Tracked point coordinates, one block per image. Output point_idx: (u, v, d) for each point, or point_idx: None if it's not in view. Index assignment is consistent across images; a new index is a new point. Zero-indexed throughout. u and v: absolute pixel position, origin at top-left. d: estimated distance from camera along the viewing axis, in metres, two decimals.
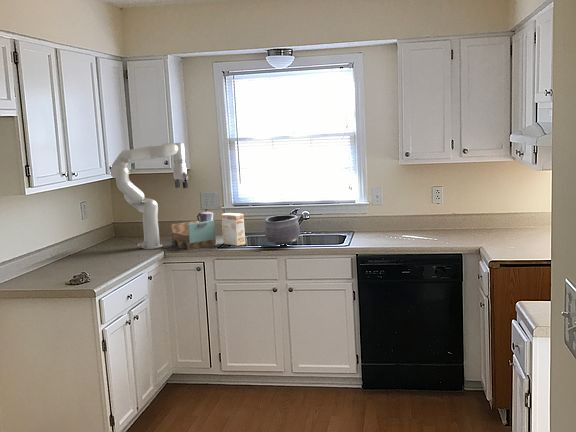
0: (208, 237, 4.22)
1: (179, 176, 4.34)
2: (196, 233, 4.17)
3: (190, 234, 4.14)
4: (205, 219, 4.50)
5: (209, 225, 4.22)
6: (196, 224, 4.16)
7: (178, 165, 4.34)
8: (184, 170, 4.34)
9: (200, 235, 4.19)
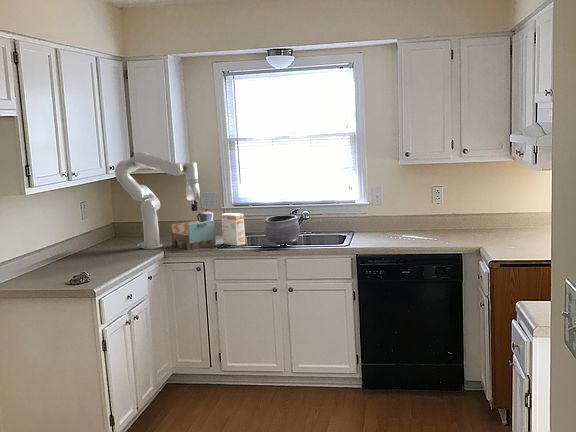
0: (208, 237, 4.22)
1: (192, 197, 4.19)
2: (196, 233, 4.17)
3: (190, 234, 4.14)
4: (205, 219, 4.50)
5: (209, 225, 4.22)
6: (196, 224, 4.16)
7: (190, 186, 4.19)
8: (197, 191, 4.19)
9: (200, 235, 4.19)
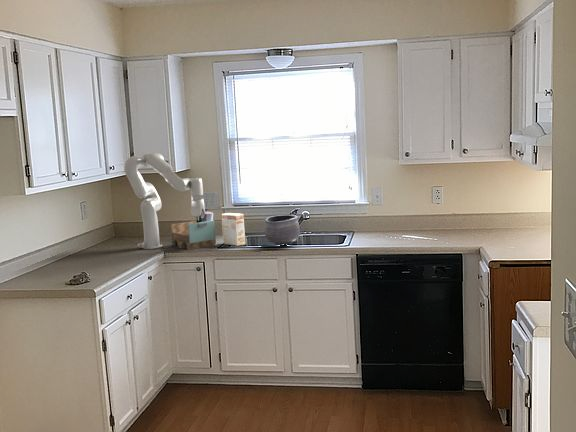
0: (208, 237, 4.22)
1: (197, 213, 4.16)
2: (196, 233, 4.17)
3: (190, 234, 4.14)
4: (205, 219, 4.50)
5: (209, 225, 4.22)
6: (196, 224, 4.16)
7: (196, 202, 4.16)
8: (202, 207, 4.16)
9: (200, 235, 4.18)
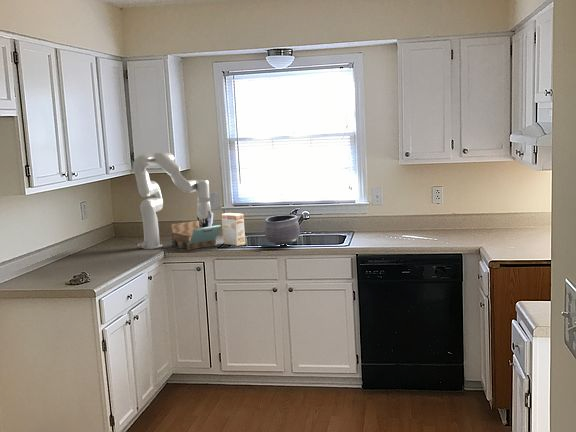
0: (209, 238, 4.21)
1: (203, 215, 4.10)
2: (199, 236, 4.14)
3: (193, 237, 4.12)
4: None
5: (214, 230, 4.18)
6: (202, 230, 4.11)
7: (202, 204, 4.10)
8: (208, 209, 4.10)
9: (202, 237, 4.17)
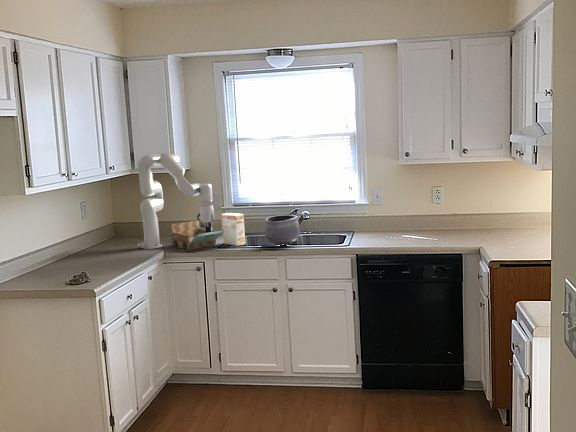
0: (209, 239, 4.21)
1: (206, 219, 4.08)
2: (200, 239, 4.13)
3: (194, 240, 4.11)
4: None
5: (216, 234, 4.17)
6: (205, 235, 4.10)
7: (205, 208, 4.08)
8: (211, 213, 4.08)
9: (203, 239, 4.16)
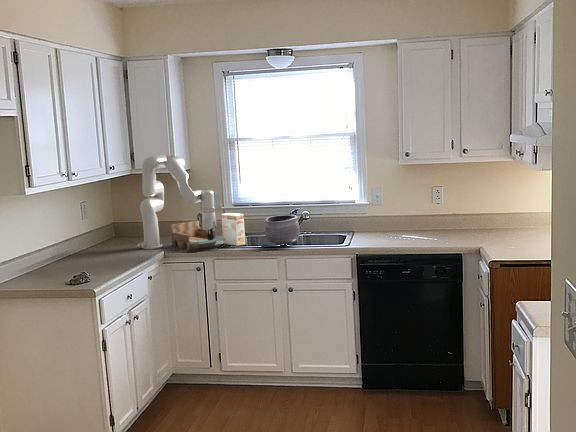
0: None
1: (208, 226, 4.07)
2: None
3: None
4: None
5: None
6: (206, 242, 4.09)
7: (207, 215, 4.07)
8: (213, 220, 4.07)
9: None
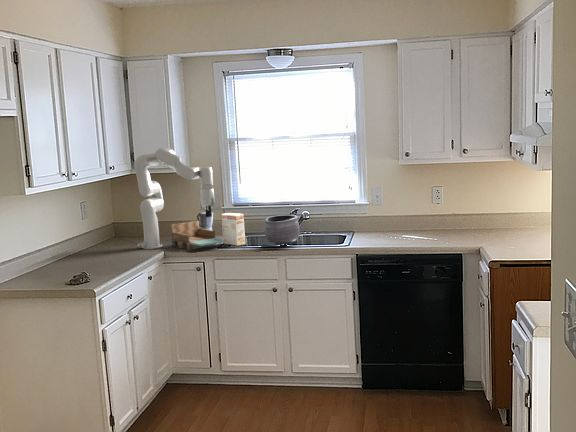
0: None
1: (206, 203, 4.05)
2: None
3: (195, 244, 4.11)
4: (205, 219, 4.50)
5: None
6: (206, 244, 4.10)
7: (205, 191, 4.05)
8: (212, 196, 4.05)
9: None
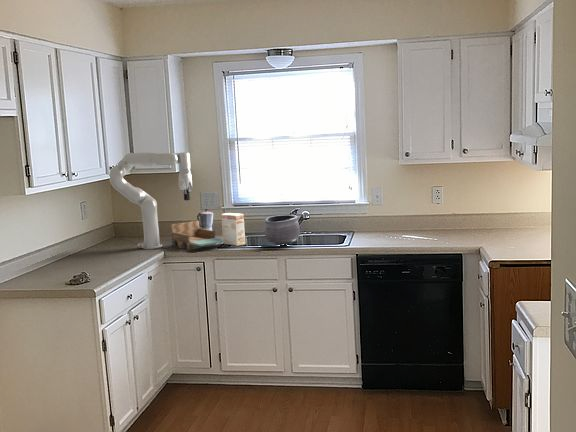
0: None
1: (184, 186, 4.24)
2: None
3: (195, 244, 4.11)
4: (205, 219, 4.50)
5: None
6: (206, 244, 4.10)
7: (183, 175, 4.24)
8: (189, 180, 4.24)
9: None
